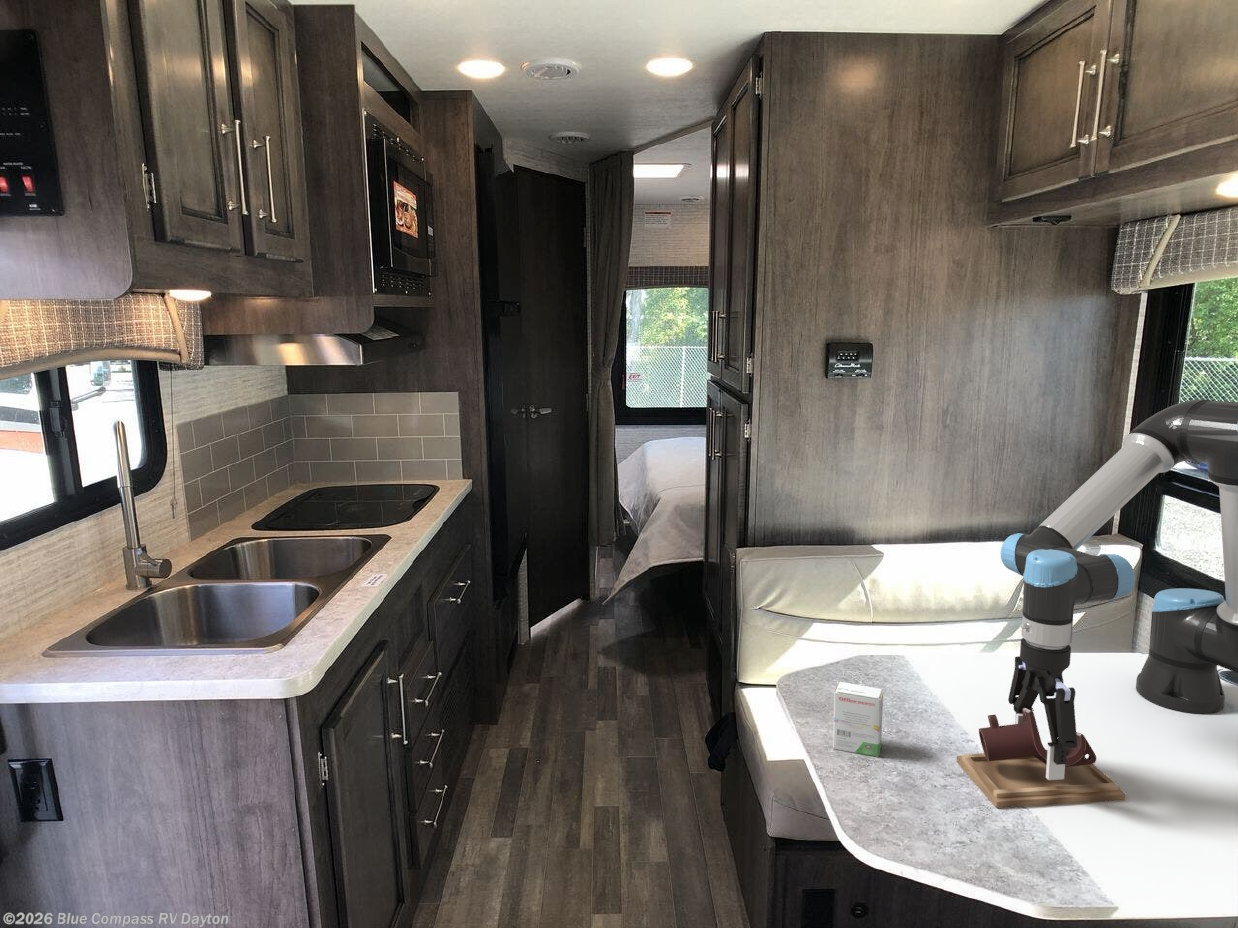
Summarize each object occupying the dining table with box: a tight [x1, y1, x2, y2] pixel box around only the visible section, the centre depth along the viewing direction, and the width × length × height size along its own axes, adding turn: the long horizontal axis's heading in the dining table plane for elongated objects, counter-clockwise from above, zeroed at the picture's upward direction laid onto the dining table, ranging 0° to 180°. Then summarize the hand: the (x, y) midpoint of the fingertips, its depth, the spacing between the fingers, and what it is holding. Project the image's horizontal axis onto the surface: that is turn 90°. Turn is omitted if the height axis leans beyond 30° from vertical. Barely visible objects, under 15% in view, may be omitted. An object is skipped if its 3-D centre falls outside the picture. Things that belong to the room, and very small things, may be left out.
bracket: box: [978, 707, 1097, 767], centre depth 136 cm, size 6×17×10 cm, turn 78°
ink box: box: [832, 681, 884, 758], centre depth 148 cm, size 9×5×12 cm, turn 65°
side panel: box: [956, 749, 1126, 809], centre depth 136 cm, size 22×14×2 cm, turn 93°
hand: (1038, 762), depth 136 cm, fingers closed on bracket, 9 cm apart
